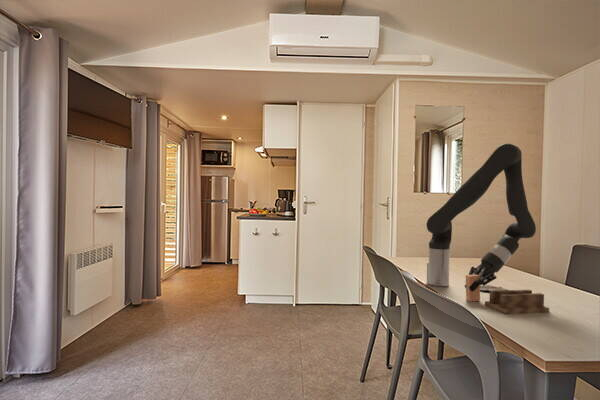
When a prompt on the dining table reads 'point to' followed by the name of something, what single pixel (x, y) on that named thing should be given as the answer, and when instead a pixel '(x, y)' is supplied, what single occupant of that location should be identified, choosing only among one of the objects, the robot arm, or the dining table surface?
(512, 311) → the walnut rack
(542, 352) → the dining table surface
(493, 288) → the stone fragment
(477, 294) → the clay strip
